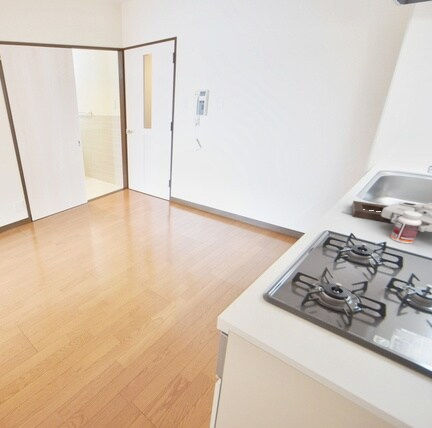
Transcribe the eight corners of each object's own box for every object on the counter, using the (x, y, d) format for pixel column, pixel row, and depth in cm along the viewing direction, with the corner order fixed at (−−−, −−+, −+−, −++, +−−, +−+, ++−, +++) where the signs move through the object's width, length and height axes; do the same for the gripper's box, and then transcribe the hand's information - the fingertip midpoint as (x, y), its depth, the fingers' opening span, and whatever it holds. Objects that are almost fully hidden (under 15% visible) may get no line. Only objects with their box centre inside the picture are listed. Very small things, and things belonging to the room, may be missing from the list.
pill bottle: (416, 241, 103) (428, 214, 98) (408, 245, 101) (420, 218, 96) (394, 234, 108) (405, 208, 104) (386, 238, 106) (397, 212, 101)
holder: (388, 212, 126) (390, 206, 124) (392, 223, 116) (395, 216, 115) (351, 206, 133) (353, 200, 131) (352, 216, 123) (354, 210, 122)
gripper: (461, 235, 99) (442, 245, 94) (390, 214, 116) (370, 221, 111) (470, 219, 96) (450, 229, 91) (396, 200, 113) (376, 207, 109)
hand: (406, 224), depth 101 cm, fingers closed on pill bottle, 6 cm apart
